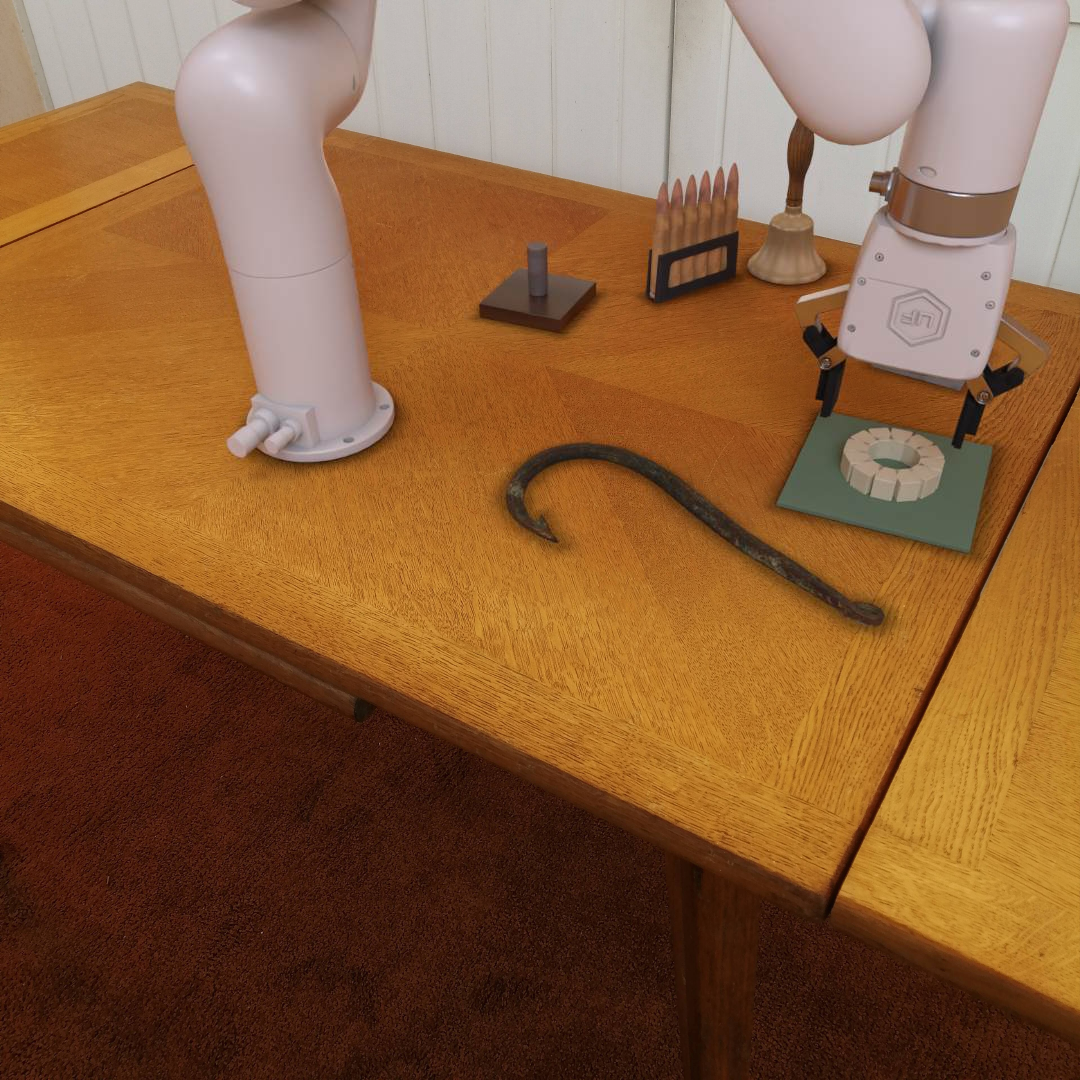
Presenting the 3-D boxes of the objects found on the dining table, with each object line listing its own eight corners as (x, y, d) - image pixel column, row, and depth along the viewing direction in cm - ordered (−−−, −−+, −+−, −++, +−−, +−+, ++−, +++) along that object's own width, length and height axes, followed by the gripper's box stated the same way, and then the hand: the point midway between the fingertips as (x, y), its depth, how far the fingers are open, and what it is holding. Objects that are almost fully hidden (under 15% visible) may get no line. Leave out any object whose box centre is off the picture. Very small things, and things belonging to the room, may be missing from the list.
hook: (547, 440, 85) (546, 425, 84) (908, 524, 75) (913, 509, 74) (480, 528, 76) (479, 512, 75) (878, 636, 66) (883, 620, 65)
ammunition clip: (655, 303, 102) (661, 187, 95) (645, 296, 104) (650, 181, 96) (736, 276, 107) (748, 163, 99) (725, 270, 108) (736, 158, 100)
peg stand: (560, 333, 98) (559, 271, 94) (479, 317, 101) (475, 256, 97) (596, 294, 104) (596, 234, 100) (519, 280, 107) (516, 221, 103)
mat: (968, 553, 71) (970, 549, 71) (776, 506, 76) (776, 501, 76) (992, 450, 81) (993, 446, 81) (819, 413, 86) (820, 409, 86)
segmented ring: (930, 511, 75) (936, 492, 73) (831, 487, 77) (835, 468, 76) (945, 458, 80) (951, 439, 78) (851, 438, 82) (855, 419, 81)
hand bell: (743, 282, 106) (761, 126, 95) (750, 249, 112) (767, 99, 101) (824, 288, 104) (850, 130, 94) (826, 255, 110) (851, 103, 100)
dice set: (965, 353, 93) (970, 334, 92) (948, 377, 90) (953, 358, 88) (911, 339, 95) (915, 321, 94) (893, 362, 92) (897, 344, 91)
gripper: (803, 200, 65) (766, 421, 76) (1093, 247, 59) (1007, 479, 70) (830, 162, 70) (791, 375, 81) (1099, 202, 64) (1018, 425, 75)
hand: (891, 423), depth 76 cm, fingers open, 9 cm apart
